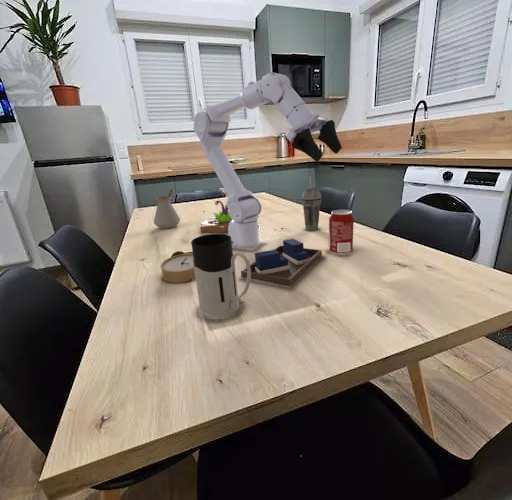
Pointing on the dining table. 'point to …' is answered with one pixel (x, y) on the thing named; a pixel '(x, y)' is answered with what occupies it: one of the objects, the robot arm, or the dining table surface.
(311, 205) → the beverage cup
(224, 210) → the plant
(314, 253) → the shoe tray
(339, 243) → the soda can
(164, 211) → the coffee pot
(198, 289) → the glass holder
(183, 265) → the alarm clock
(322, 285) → the dining table surface
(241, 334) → the dining table surface
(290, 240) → the trainer
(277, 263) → the trainer
